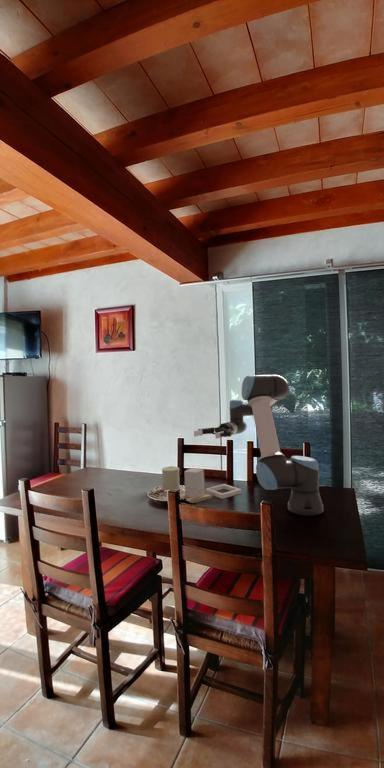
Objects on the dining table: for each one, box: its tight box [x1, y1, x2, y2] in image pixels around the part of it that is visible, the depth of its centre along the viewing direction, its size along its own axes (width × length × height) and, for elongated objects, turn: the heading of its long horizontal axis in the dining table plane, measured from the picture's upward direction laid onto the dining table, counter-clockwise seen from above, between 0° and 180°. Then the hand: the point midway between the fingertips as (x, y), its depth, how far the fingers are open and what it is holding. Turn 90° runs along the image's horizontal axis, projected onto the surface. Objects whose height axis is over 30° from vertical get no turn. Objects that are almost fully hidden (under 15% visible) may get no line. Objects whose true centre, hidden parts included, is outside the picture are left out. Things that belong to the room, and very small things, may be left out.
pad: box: [179, 493, 213, 504], centre depth 196 cm, size 12×12×1 cm
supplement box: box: [184, 467, 206, 498], centre depth 196 cm, size 7×7×13 cm
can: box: [161, 466, 181, 493], centre depth 209 cm, size 9×9×12 cm
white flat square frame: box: [205, 483, 242, 500], centre depth 202 cm, size 13×13×2 cm
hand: (205, 434), depth 203 cm, fingers open, 13 cm apart
